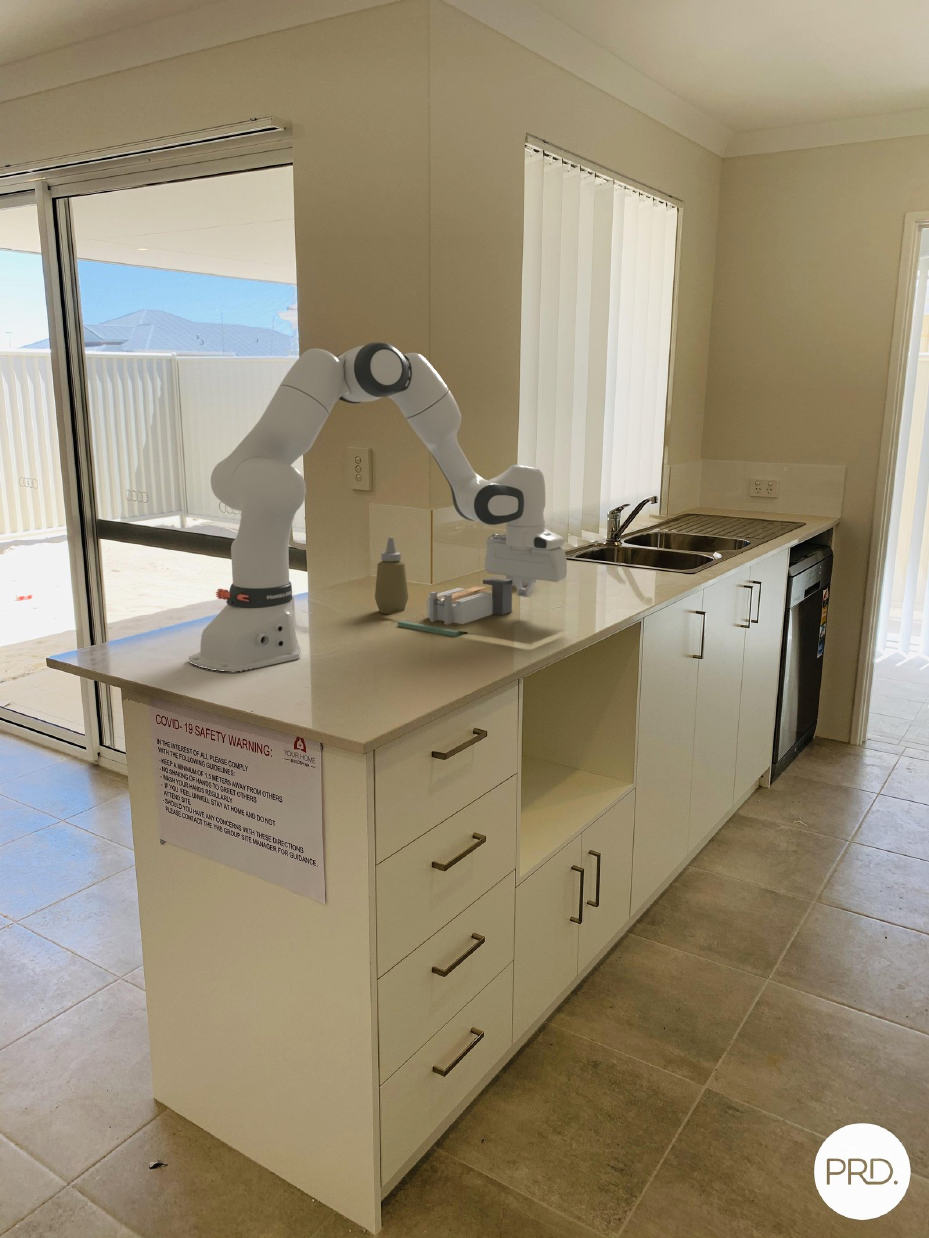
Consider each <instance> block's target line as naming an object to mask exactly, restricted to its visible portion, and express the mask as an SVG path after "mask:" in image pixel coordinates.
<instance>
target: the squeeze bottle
mask: <svg viewBox="0 0 929 1238" xmlns="http://www.w3.org/2000/svg"><path fill="white" fill-rule="evenodd" d="M394 539H395V538H394V537H388V538H387V543H386V548H385V549H386V550H385V551H383V552H381V555H380V557H381V558H380V559H381V561H379V562H378V563H377V568H376V581H375V592H374V593H375V594H374V599H375V603H376V605H377V608H378V610H379V613H381V614H383V615H384V614H385V615H392V614H393V615H394V614H396V613H401V612H403V611H405V609H406V605H407V603H408V600H409V591H408V583H407V574H406V573H407V572H406V566H405V562H404V561H402V556H401V555H402V553H401V552H399V551H397V549H396V548H397V547H396V545H395V544H396V543H395V540H394Z"/></svg>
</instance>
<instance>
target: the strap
mask: <svg viewBox="0 0 929 1238" xmlns="http://www.w3.org/2000/svg"><path fill="white" fill-rule="evenodd" d="M483 592H487V587H486V586H479V585H475V586H472V587H469V588H467V589H465V590H463V591H460V592H457V593H453V594H452V603H455V601H456V600H460V599H463V598H466V597H470V596H473V595H476V594H480V593H483ZM435 605H441V606H444V597H441V598H438V599H435Z"/></svg>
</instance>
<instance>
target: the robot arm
mask: <svg viewBox="0 0 929 1238" xmlns="http://www.w3.org/2000/svg"><path fill="white" fill-rule="evenodd" d="M387 397H388V398H389V399H391V400H392V401H393V402H394V404H396V405H397V406H398V409H399V410H400V412H401V413H402V415H403V417H404V418H405V420H406V421H407V423H408V424H409V426H410V427H411V429H412V430H413V431H414V433H415V435H417V437H418V438H419V439H420V441H422V442H423V444H424V445H425V446H426V448H427V449H428V450H429V451H430V453H431V455H432V457H433V458H434V460H435V462H436V464H437V466H438V467H439V469H440V472H442V474H443V475H444V478H445V479H446V481H447V483H448V485H449V488H450V492H451V497H452V502H453V507H454V509H455V511H456V512H457V514H458V515H459V516H460V517H461V518H462V519H465V520H468V521H473V522H478V523H479V524H483V525H487V526H497V525H501V524H505V534H506V535H505V534H497V533H492V534H491V535H490V536H488V537H487V538H486V551H485V556H484V557H485V558H484V570H485V571H486V573H487V574H492V575H498V576H499V575H500V576H505V577H506V576H513V583H514V585H515V586H514V587H515V589H516V596H517V597H521V598H531V597H532V593H533V591H532V590H533V589H534V586H536V585H535V584H536V583H537V581H546V582H550V583H552V582H553V583H560V582H563V581H564V580H565V578H566V577H567V573H568V571H567V570H568V569H567V555H566V552H565V550H564V549H563V548H562V547H563V546H564V545H565V538H564V537H563V536H561V535H559V534H557V533H555V532H552V531H551V530H549V529H547V528H545V527H546V522H545V521H546V520H545V518H544V512H545V507H546V483H545V477H544V473H543V472H542V471H541V470H540V469H539V468H537V467H532V466H527V465H522V464H512V465H510V466H509V467H508V469H506V470H505V471H504V472H502V473H500V474H498V475H497V476H495V477H493V478H490V479H485V478H484V477H481V476H480V475H479V474H477V472H475V470H474V469H473V467H472V465H471V464H470V462H469V461H468V458H467V457H466V455H465V453H464V452H463V450H462V448H461V446H460V444H459V442H458V441H459V440H458V431H460V428H461V423H462V414H461V411H460V408H459V405H458V403H457V402H456V399H455V398H454V397H455V396H453V393H452V392H451V390H450V389H449V388H448V385H447V384H446V383H445V381H444V380H443V378H442V376H441V375H440V374H439V373H438V372H437V371H436V369H435V368H434V367H433V366H432V364H431V363H430V362H429V361H428V360H427V359H426V357H424V356H423V355H422V354H420V353H418V352H408V353H405V354H404V353H402V352H401V351H400V350H398V349H397V348H396V347H395V346H393V345H391V344H388V343H385V342H382V341H381V342H379V341H377V342H375V341H374V342H370V343H367V344H364V345H359V346H355V347H352V348H351V349H348V350H347V351H345V352H343V353H341V354H339V355H337V356H336V355H334V354H333V353H332V352H331V351H328V350H325V349H323V348H316V347H315V348H309V349H307V350H305V351H304V352H303V353H302V354H301V355H300V357H299V358H297V360H296V361H295V362H294V364H293V365H292V366H291V367H290V369H289V370H288V371H287V372H286V375H285V376H284V377H283V379H282V380H281V382H280V384H279V386H278V387H277V390H276V391H275V393H274V395H273V396H272V398H271V400H270V401H269V404H268V405H267V406H266V408H265V410H264V412H263V414H262V415H261V417H260V418H259V420H258V422H257V423H256V424H255V425H254V427H253V428H252V429H251V430H250V431H249V432H248V434H247V435H245V437H244V438H243V439H242V440H241V442H240V443H239V444H238V445H237V446H236V447H235V449H234V450H232V452H231V453H230V454H228V456H227V457H225V458H224V459H222V460H221V461H219V462H218V463H217V464H215V467H214V468H213V469H212V472H211V475H210V487H211V490H212V493H213V495H214V496H215V497H216V498H217V499H218V501H220V502H221V503H222V504H224V505H225V506H227V507H229V509H232V510H235V511H239V512H240V520H239V521H240V522H239V526H238V530H237V535H236V537H235V539H234V540H233V541H232V543H231V547H230V555H231V556H230V557H231V573H232V583H231V584H230V588H229V589H222V588H218V589H216V591H215V597H216V598H217V599H219V600H224V601H226V602H225V603H226V605H225V606H224V607H223V609H221V611H220V612H219V613H218V614H217V615H216V616H215V617H214V618H213V620H211V621H210V623H209V624H208V625H207V626H206V627H205V628H204V629H203V630H202V634H201V638H200V649H199V650H200V651H198V652H197V653H194V654H191V655H189V656H188V661H189V660H190V662H192V663H194V664H197V665H199V666H203V667H207V668H210V669H216V670H224V671H240V672H242V671H241V670H245V671H248V669H249V670H253V668H254V669H257V668H262V667H268V666H272V665H277V664H281V663H285V662H289V661H293V660H294V661H295V660H299V659H300V657H301V655H300V651H301V647H300V645H299V642H298V638H297V635H296V630H295V629H296V628H295V623H294V617H293V612H292V603H291V601H292V600H293V587H292V582H291V581H290V566H289V564H290V563H289V561H290V560H289V559H290V558H289V549H290V548H289V546H290V544H289V543H290V537H291V532H292V527H293V523H294V519H295V515H296V513H297V512H298V510H300V508H301V506H302V505H303V503H304V501H305V499H306V495H307V486H306V480H305V479H304V476H303V474H302V473H301V472H300V471H299V470H298V469H297V468H295V467H293V466H292V465H293V463H295V462H296V461H297V460H298V459H299V458H300V457H302V456H304V455H305V454H306V453H308V452H309V450H311V448H312V447H313V445H314V443H315V441H316V439H317V438H318V436H319V434H320V432H321V431H322V429H323V427H324V425H325V423H326V421H327V419H328V417H329V416H330V414H331V412H332V410H333V408H334V406H335V404H336V403H337V402H338V400H339V401H342V402H344V403H349V404H360V403H369V402H375V401H377V400H379V399H383V398H387ZM523 578H526V583H528V585H527V586H525V587H524V586H522V583H521V580H522V579H523Z"/></svg>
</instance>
